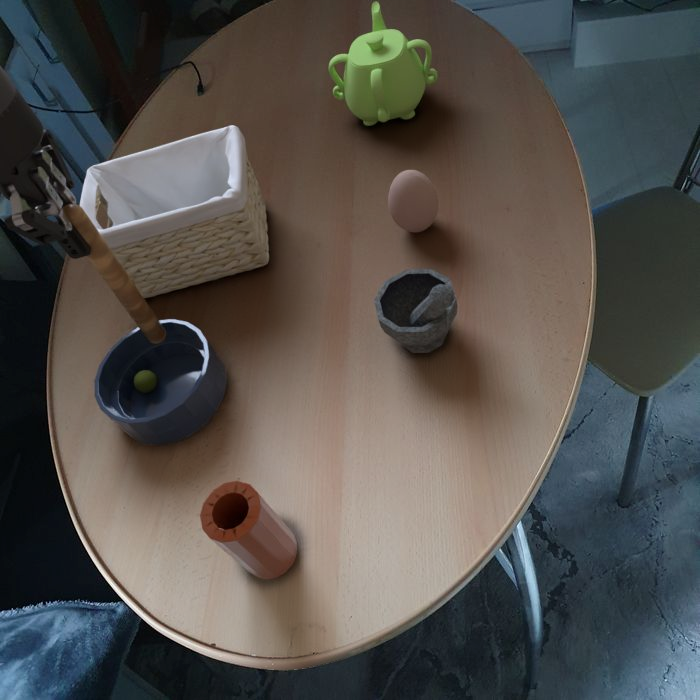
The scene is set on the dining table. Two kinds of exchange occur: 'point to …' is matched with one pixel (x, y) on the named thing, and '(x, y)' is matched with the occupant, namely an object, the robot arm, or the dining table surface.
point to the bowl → (162, 384)
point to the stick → (116, 275)
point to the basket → (181, 211)
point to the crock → (248, 530)
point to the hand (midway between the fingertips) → (83, 244)
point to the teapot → (383, 74)
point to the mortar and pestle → (417, 309)
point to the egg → (413, 201)
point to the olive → (145, 381)
